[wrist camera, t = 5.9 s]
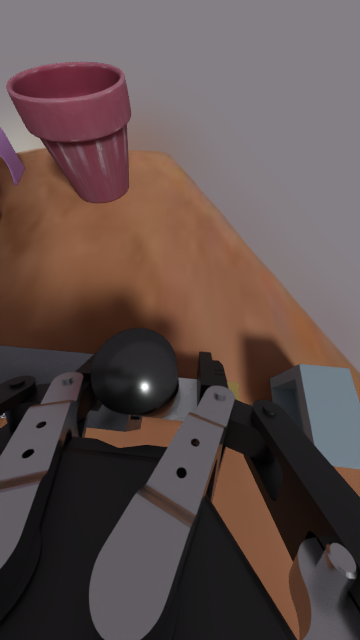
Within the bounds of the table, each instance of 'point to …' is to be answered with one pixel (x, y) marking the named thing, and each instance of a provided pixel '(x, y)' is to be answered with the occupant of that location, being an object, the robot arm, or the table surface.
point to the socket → (322, 409)
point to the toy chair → (10, 158)
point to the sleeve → (49, 365)
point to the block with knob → (143, 377)
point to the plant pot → (79, 123)
